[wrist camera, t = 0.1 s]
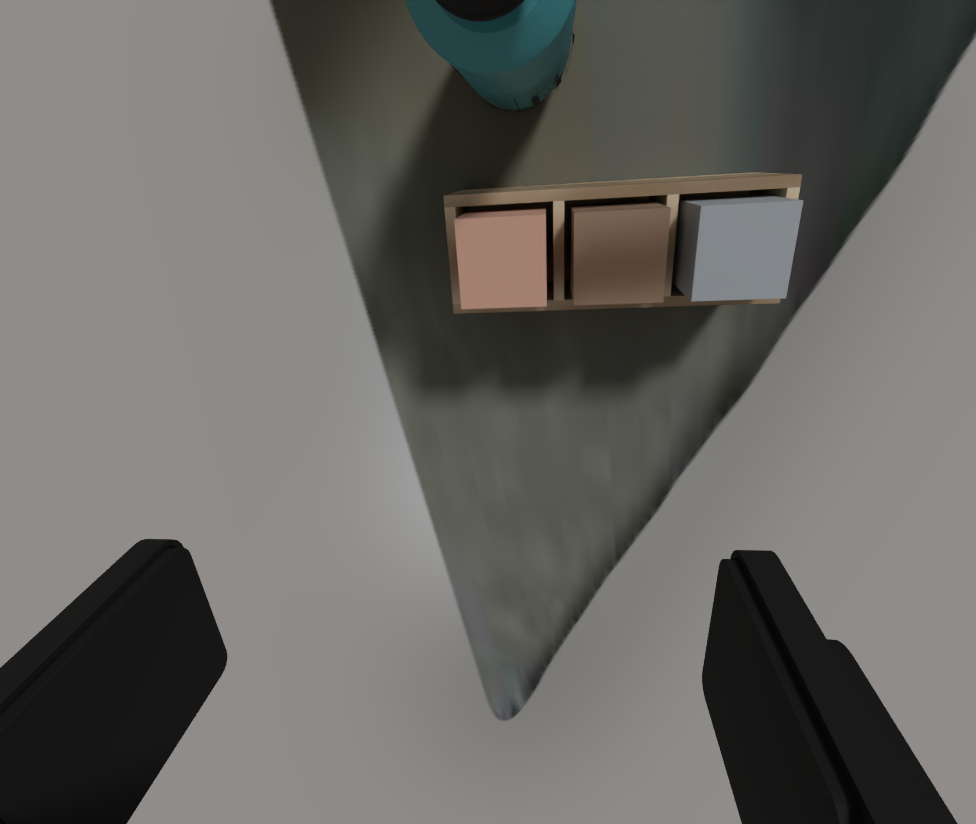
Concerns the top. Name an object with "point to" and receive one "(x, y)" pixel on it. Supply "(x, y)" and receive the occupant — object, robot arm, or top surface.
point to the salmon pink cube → (502, 258)
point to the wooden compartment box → (601, 193)
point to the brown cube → (618, 252)
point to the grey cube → (735, 247)
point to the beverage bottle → (501, 44)
